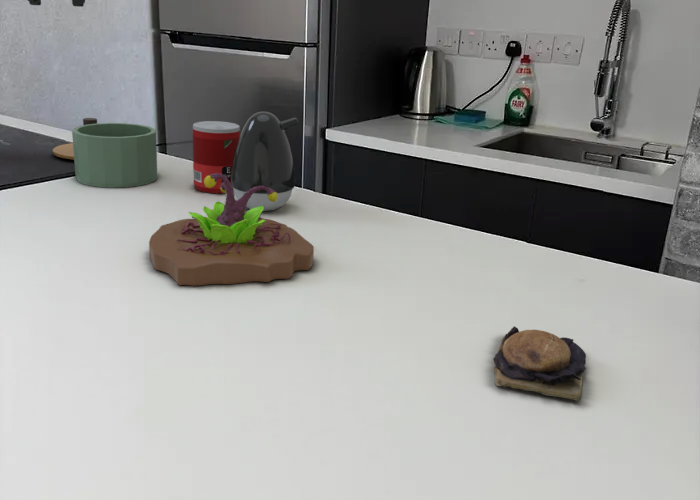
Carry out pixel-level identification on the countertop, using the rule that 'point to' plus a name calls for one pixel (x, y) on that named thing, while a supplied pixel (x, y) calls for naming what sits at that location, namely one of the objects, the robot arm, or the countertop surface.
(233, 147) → the canned food
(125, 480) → the countertop surface
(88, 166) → the tin
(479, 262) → the countertop surface
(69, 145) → the lid
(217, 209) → the plant
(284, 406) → the countertop surface
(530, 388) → the toy sandwich
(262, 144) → the pump dispenser
